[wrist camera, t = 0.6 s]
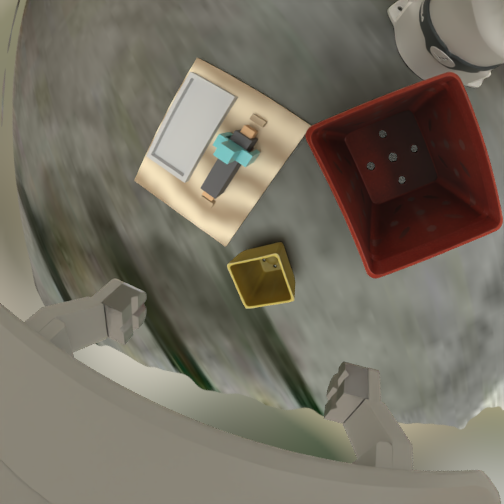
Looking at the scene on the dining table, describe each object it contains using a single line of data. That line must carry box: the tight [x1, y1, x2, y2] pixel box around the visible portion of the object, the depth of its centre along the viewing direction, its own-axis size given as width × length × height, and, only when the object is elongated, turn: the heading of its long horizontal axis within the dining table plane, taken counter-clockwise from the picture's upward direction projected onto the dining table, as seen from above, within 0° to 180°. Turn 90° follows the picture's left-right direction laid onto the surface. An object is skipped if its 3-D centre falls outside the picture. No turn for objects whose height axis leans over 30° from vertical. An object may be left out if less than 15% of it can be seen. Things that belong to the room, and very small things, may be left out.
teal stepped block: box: [213, 132, 260, 167], centre depth 43 cm, size 2×6×8 cm, turn 57°
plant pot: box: [305, 72, 503, 278], centre depth 35 cm, size 19×19×17 cm
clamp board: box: [134, 58, 311, 247], centre depth 48 cm, size 26×22×3 cm
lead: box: [200, 125, 258, 201], centre depth 46 cm, size 13×3×4 cm, turn 147°
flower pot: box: [227, 242, 295, 308], centre depth 51 cm, size 9×9×9 cm
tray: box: [146, 72, 238, 183], centre depth 47 cm, size 17×9×2 cm, turn 147°
